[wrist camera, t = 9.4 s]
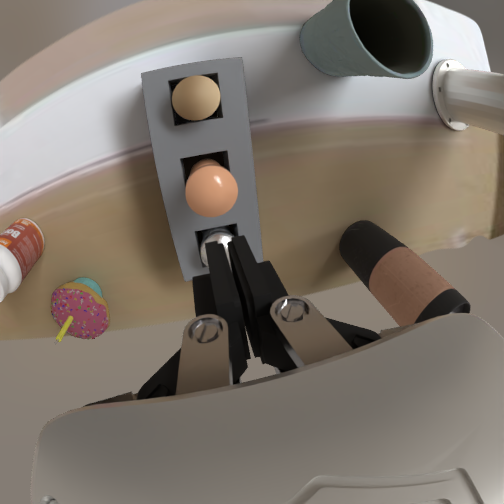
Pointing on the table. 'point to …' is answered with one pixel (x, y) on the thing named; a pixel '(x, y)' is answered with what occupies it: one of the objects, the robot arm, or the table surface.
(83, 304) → the cupcake
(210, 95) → the oak plug
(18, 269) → the pill bottle
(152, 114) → the socket block
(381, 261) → the travel mug
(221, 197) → the terracotta plug
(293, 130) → the table surface
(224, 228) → the aluminium plug
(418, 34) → the green tapered cup
